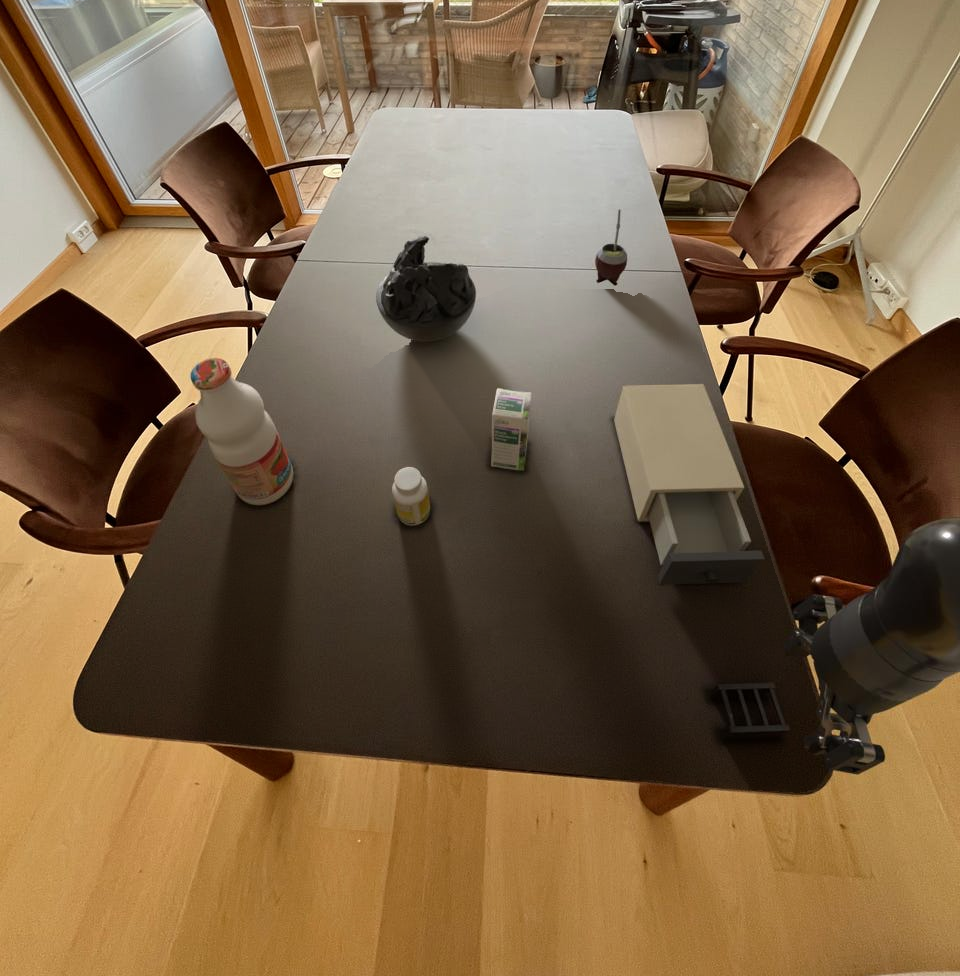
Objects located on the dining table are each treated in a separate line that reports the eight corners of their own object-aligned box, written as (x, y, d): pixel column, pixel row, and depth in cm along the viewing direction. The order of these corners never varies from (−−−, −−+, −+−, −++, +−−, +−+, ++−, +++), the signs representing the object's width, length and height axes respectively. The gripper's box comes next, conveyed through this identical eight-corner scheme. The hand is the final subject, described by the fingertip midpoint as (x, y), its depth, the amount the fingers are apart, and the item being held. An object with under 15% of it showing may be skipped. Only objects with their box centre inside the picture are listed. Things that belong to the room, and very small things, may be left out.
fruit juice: (231, 471, 97) (166, 359, 77) (286, 449, 100) (238, 336, 80) (243, 516, 91) (176, 408, 71) (301, 491, 94) (252, 381, 74)
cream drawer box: (724, 519, 90) (744, 487, 83) (638, 521, 90) (651, 490, 83) (688, 418, 104) (703, 383, 97) (613, 420, 104) (623, 385, 97)
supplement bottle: (425, 491, 94) (421, 458, 87) (434, 520, 90) (430, 488, 83) (393, 500, 93) (386, 468, 86) (401, 530, 89) (394, 499, 82)
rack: (777, 737, 70) (790, 730, 67) (721, 739, 70) (731, 732, 67) (762, 690, 74) (773, 682, 71) (708, 692, 73) (718, 684, 71)
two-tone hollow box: (748, 590, 82) (768, 567, 76) (661, 593, 81) (674, 570, 76) (706, 470, 96) (720, 443, 90) (631, 471, 95) (640, 445, 90)
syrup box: (490, 467, 97) (491, 415, 87) (495, 438, 101) (496, 386, 91) (523, 472, 96) (528, 420, 86) (527, 443, 100) (532, 390, 90)
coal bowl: (453, 374, 112) (449, 302, 99) (364, 346, 117) (349, 275, 104) (490, 310, 125) (491, 239, 112) (408, 288, 130) (400, 218, 117)
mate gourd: (605, 291, 129) (616, 236, 119) (584, 272, 134) (592, 218, 124) (630, 280, 132) (643, 226, 121) (608, 262, 137) (619, 208, 126)
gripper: (962, 758, 44) (861, 787, 55) (896, 573, 53) (822, 631, 65) (858, 740, 44) (780, 772, 56) (812, 561, 54) (753, 620, 66)
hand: (802, 696), depth 60 cm, fingers open, 8 cm apart
